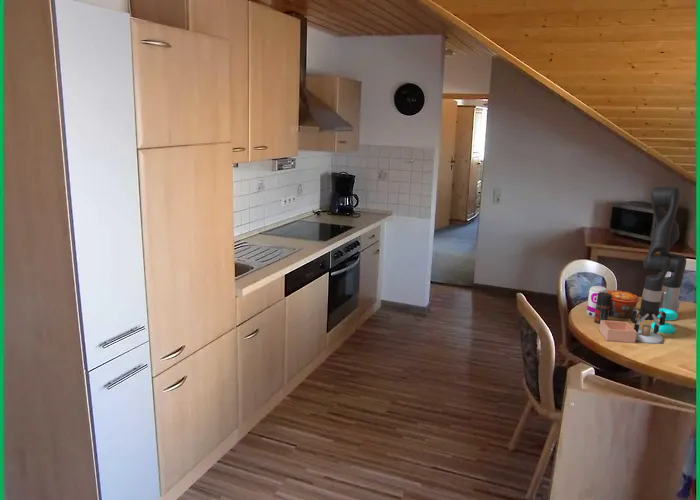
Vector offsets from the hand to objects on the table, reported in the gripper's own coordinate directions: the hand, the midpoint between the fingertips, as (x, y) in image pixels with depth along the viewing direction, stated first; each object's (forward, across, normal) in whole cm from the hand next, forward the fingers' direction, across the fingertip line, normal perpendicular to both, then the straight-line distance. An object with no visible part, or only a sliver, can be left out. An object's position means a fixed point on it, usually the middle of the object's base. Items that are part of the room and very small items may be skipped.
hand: (645, 332), depth 252 cm
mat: (+3, 0, 0) cm, 3 cm away
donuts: (+3, -12, -12) cm, 17 cm away
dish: (+3, +13, +2) cm, 13 cm away
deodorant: (+3, +15, -16) cm, 22 cm away
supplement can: (+3, +15, -26) cm, 30 cm away
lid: (+3, 0, 0) cm, 3 cm away
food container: (+3, +2, -31) cm, 31 cm away
